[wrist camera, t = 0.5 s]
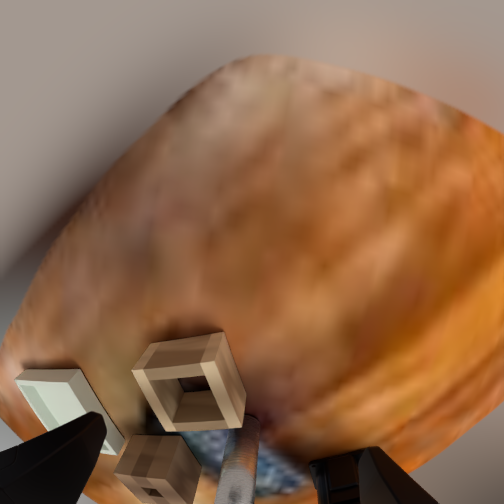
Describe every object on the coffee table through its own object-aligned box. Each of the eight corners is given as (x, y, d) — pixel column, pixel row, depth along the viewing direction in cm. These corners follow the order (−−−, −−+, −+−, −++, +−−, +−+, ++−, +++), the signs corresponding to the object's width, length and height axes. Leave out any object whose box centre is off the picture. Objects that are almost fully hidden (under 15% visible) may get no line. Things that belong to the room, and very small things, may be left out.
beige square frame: (246, 394, 23) (242, 427, 19) (178, 401, 24) (166, 431, 20) (223, 331, 22) (214, 361, 18) (150, 343, 23) (131, 370, 19)
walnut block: (201, 467, 26) (191, 508, 21) (156, 466, 27) (142, 502, 21) (180, 435, 25) (165, 479, 19) (132, 434, 26) (113, 472, 20)
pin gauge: (263, 432, 24) (257, 520, 14) (234, 435, 25) (220, 520, 15) (255, 413, 24) (246, 506, 14) (225, 416, 24) (207, 506, 14)
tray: (125, 440, 26) (117, 455, 24) (66, 433, 28) (58, 444, 25) (80, 369, 24) (67, 382, 22) (25, 369, 26) (14, 379, 23)
